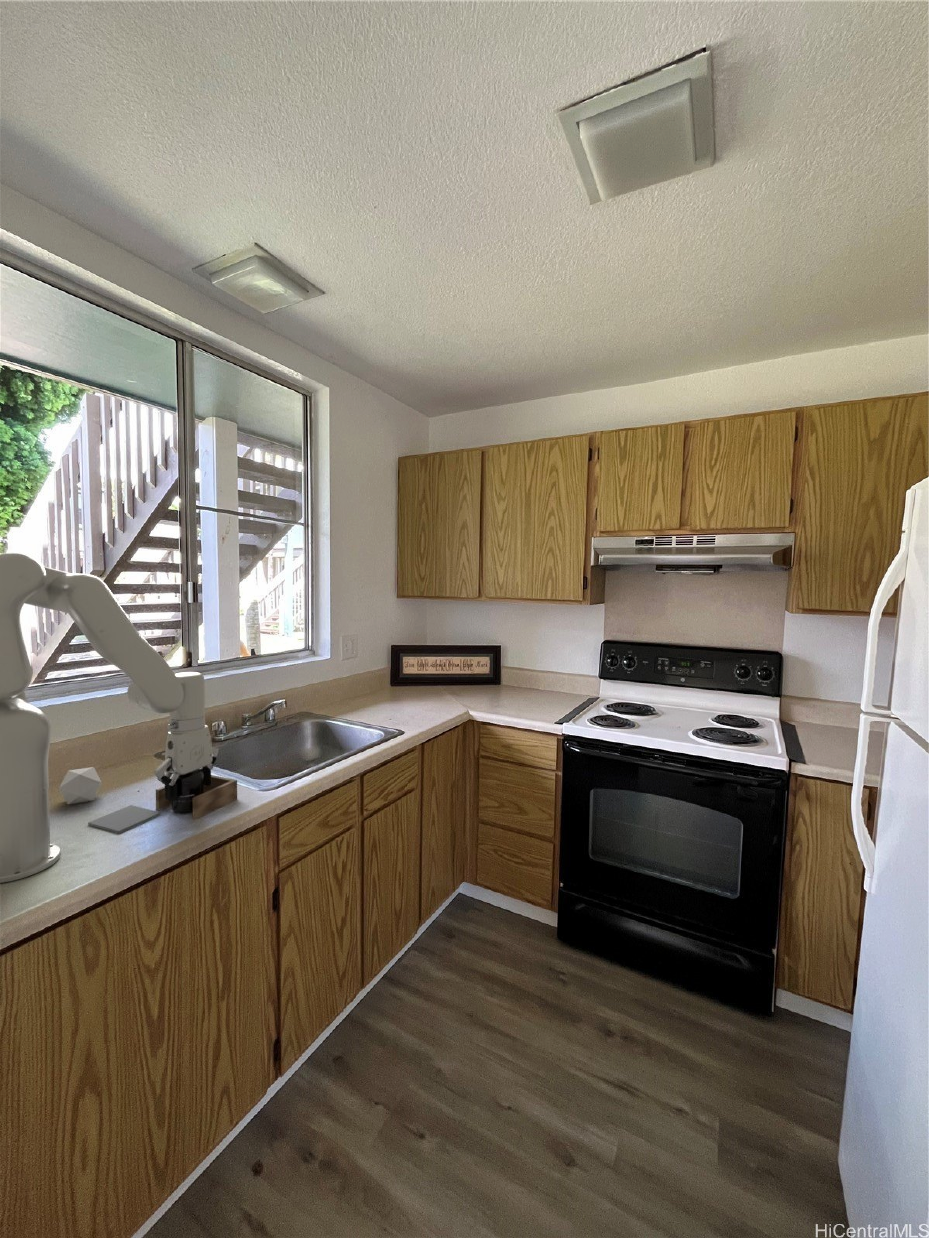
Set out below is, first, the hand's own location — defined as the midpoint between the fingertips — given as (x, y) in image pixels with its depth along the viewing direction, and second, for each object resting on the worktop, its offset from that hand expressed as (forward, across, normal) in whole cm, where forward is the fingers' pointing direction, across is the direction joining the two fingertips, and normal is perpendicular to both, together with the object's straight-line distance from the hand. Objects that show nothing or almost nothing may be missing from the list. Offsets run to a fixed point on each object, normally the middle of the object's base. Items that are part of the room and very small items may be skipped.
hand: (189, 792), depth 123 cm
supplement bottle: (+4, 0, 0) cm, 4 cm away
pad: (+4, -10, +8) cm, 14 cm away
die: (+4, -7, +28) cm, 29 cm away
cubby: (+4, +2, 0) cm, 5 cm away
